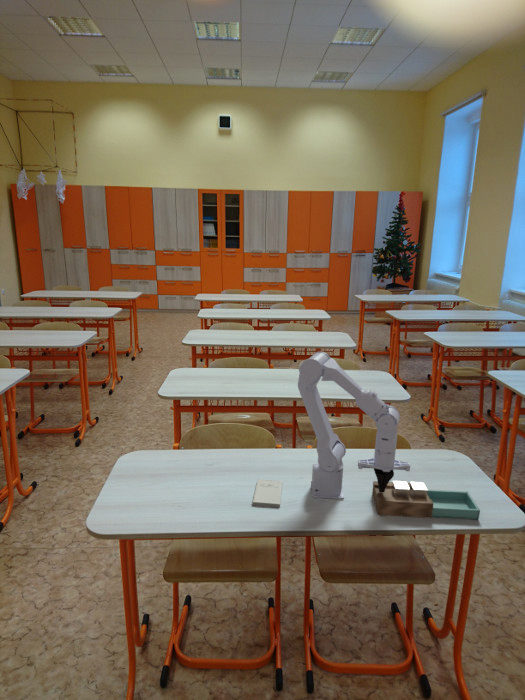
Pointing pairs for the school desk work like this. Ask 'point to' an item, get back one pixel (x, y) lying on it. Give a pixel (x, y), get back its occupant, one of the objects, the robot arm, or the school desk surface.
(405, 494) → the grey square block
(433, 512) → the tray
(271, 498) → the external hard drive
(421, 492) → the light grey block
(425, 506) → the channel block
